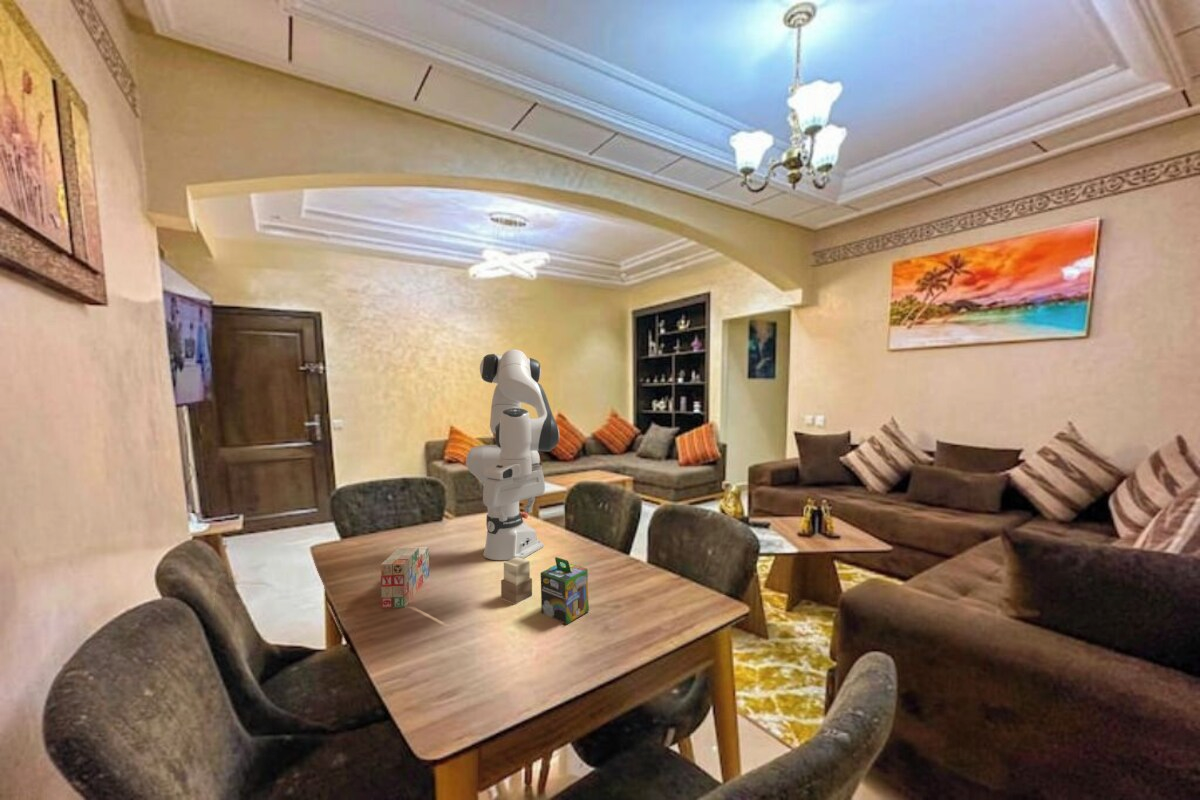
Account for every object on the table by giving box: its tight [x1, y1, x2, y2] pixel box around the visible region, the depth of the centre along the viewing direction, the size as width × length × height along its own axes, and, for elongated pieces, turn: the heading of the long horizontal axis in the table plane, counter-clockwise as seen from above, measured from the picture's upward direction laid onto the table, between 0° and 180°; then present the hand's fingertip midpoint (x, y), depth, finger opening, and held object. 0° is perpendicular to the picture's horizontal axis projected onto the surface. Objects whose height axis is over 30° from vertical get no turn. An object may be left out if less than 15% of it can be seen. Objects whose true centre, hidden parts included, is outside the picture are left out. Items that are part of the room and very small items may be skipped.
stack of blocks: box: [380, 546, 430, 609], centre depth 133 cm, size 21×6×12 cm, turn 4°
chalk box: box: [540, 556, 590, 626], centre depth 119 cm, size 9×9×15 cm
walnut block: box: [500, 577, 533, 605], centre depth 127 cm, size 6×6×5 cm
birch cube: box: [503, 557, 531, 585], centre depth 127 cm, size 5×5×5 cm
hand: (516, 516), depth 127 cm, fingers open, 8 cm apart
